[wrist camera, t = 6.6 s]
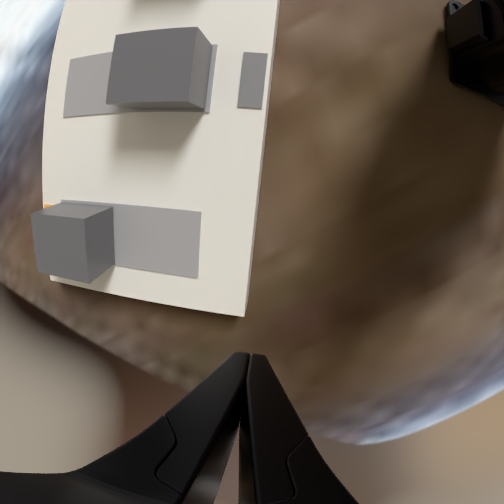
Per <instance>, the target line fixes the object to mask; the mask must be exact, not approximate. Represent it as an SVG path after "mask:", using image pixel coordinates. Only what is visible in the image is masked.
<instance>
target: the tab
mask: <svg viewBox="0 0 504 504" xmlns="http://www.w3.org/2000/svg"><path fill="white" fill-rule="evenodd" d="M31 222H32V233H33V243H34V251H35V259H36V266H37V272H40V273H44V274H48V275H52V276H57V277H61V278H65V279H70V280H74V281H79V282H83V283H88V284H90V283H91V282H92V281H93V280H95V279H96V278H97V277H99V276H100V275H101V274H102V273H104V272H105V271H106V270H108V269H109V268H110V267H111V266H113V265H114V264H115V255H114V230H113V206H101V205H89V204H76V203H63V202H61V203H58V204H55V205H53V206H50V207H47V208H44V209H41V210H38V211H36V212H33V213H31Z"/></svg>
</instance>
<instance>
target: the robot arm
mask: <svg viewBox="0 0 504 504" xmlns="http://www.w3.org/2000/svg"><path fill="white" fill-rule="evenodd" d="M452 5H453V6H454V7H455V8H456V9H455V8H454V7H453V6H452ZM447 14H448V17H447V18H446V27H447V49H448V51H449V76H450V80H451V82H452V83H453V84H454V85H456V86H459V87H461V88H464V89H466V90H468V91H471V92H473V93H476V94H478V95H480V96H483V97H485V98H487V99H489V100H491V101H494V102H496V103H498V104H500V105H502V106H504V0H472V1H471V2H469V3H468V4H466V5H463V4H461V3H459V2H457V1H454V0H451V1H449V2H448V3H447ZM456 75H457V76H458V77H459V81H458V80H457V79H456ZM240 418H241V419H240ZM239 423H240V430H239V503H238V504H359V503H358V502H357V501H356V500H355V499H354V497H353V496H352V495H351V494H350V493H349V491H348V490H347V489H346V488H345V487H344V486H343V484H342V483H341V482H340V480H339V479H338V478H337V477H336V476H335V474H334V473H333V472H332V470H331V469H330V468H329V467H328V465H327V464H326V462H325V461H324V459H323V458H322V456H321V455H320V453H319V452H318V450H317V448H316V447H315V445H314V443H313V441H312V440H311V438H310V437H309V436H308V433H307V431H306V429H305V427H304V426H303V424H302V422H301V420H300V418H299V417H298V415H297V413H296V411H295V409H294V408H293V406H292V404H291V402H290V400H289V399H288V397H287V395H286V393H285V391H284V389H283V388H282V386H281V384H280V382H279V380H278V378H277V377H276V375H275V373H274V371H273V369H272V367H271V365H270V364H269V362H268V360H267V358H266V356H265V355H261V354H250V355H249V353H246V352H239V351H235V352H234V353H233V354H231V355H230V356H229V357H228V358H227V359H226V360H225V361H224V362H223V363H222V364H221V365H220V366H218V367H217V368H216V369H215V370H214V371H213V372H212V373H211V374H210V375H209V376H207V377H206V378H205V379H204V380H203V381H202V382H201V383H200V384H199V385H197V386H196V387H195V388H194V389H193V390H192V391H191V392H189V393H188V394H187V395H186V396H185V397H184V398H183V399H181V400H180V401H179V402H178V403H177V404H176V405H175V406H173V407H172V408H171V409H170V410H169V411H168V412H167V413H165V415H163V416H161V417H160V418H159V419H158V420H157V421H156V422H155V423H153V424H152V425H151V426H149V427H148V428H147V429H145V430H144V431H143V432H141V433H140V434H139V435H137V436H136V437H134V438H132V439H131V440H130V441H128V442H126V443H125V444H123V445H121V446H120V447H118V448H116V449H115V450H113V451H111V452H110V453H108V454H106V455H104V456H103V457H101V458H99V459H97V460H96V461H94V462H92V463H90V464H88V465H87V466H84V467H82V468H80V469H77V470H75V471H71V472H67V473H57V474H41V473H13V472H0V504H213V503H214V500H215V497H216V495H217V492H218V489H219V486H220V483H221V480H222V477H223V474H224V471H225V468H226V465H227V462H228V459H229V456H230V453H231V450H232V447H233V444H234V441H235V437H236V434H237V431H238V428H239Z"/></svg>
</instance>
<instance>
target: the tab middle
mask: <svg viewBox="0 0 504 504" xmlns="http://www.w3.org/2000/svg"><path fill="white" fill-rule="evenodd" d="M212 49H213V46H212V45H211V43H210V42H209V41H208V39H207V38H206V37H205V35H204V34H203V33H202V32H201V30H200V29H199V28H198V27H182V28H168V29H157V30H147V31H139V32H132V33H125V34H118V35H116V36H115V42H114V47H113V53H112V59H111V65H110V72H109V79H108V87H107V96H106V104H108V105H114V106H119V107H125V108H130V109H205V107H206V98H207V89H208V80H209V72H210V64H211V56H212Z"/></svg>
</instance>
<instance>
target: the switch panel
mask: <svg viewBox="0 0 504 504" xmlns="http://www.w3.org/2000/svg"><path fill="white" fill-rule="evenodd" d="M279 5H280V0H66V1H65V4H64V8H63V12H62V16H61V19H60V23H59V28H58V32H57V36H56V41H55V46H54V51H53V56H52V62H51V68H50V74H49V81H48V89H47V97H46V106H45V118H44V132H43V157H42V186H43V209H44V208H47V207H50V206H53V205H55V204H58V203H61V202H63V203H76V204H89V205H101V206H113V230H114V255H115V264H114V265H113V266H111V267H110V268H109V269H108V270H106V271H105V272H104V273H102V274H101V275H100V276H99V277H97V278H96V279H95V280H93V281H92V282H91V283H90V284H88V283H83V282H79V281H74V280H70V279H65V278H61V277H57V276H52V275H50V277H51V280H53V281H57V282H61V283H65V284H69V285H74V286H78V287H82V288H87V289H91V290H96V291H100V292H105V293H110V294H115V295H120V296H124V297H129V298H134V299H140V300H145V301H150V302H155V303H161V304H166V305H172V306H178V307H184V308H190V309H196V310H202V311H208V312H214V313H221V314H228V315H234V316H241V317H244V315H245V311H246V307H247V302H248V295H249V285H250V276H251V267H252V258H253V248H254V239H255V230H256V221H257V211H258V202H259V193H260V183H261V174H262V165H263V155H264V146H265V137H266V127H267V118H268V108H269V99H270V90H271V80H272V71H273V61H274V52H275V43H276V33H277V24H278V14H279ZM182 27H198V28H199V29H200V30H201V32H202V33H203V34H204V35H205V37H206V38H207V39H208V41H209V42H210V43H211V45H212V46H213V49H212V56H211V64H210V72H209V80H208V89H207V98H206V107H205V109H130V108H125V107H119V106H114V105H108V104H106V96H107V87H108V79H109V72H110V65H111V59H112V53H113V47H114V42H115V36H116V35H118V34H125V33H132V32H139V31H147V30H157V29H168V28H182Z"/></svg>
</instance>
